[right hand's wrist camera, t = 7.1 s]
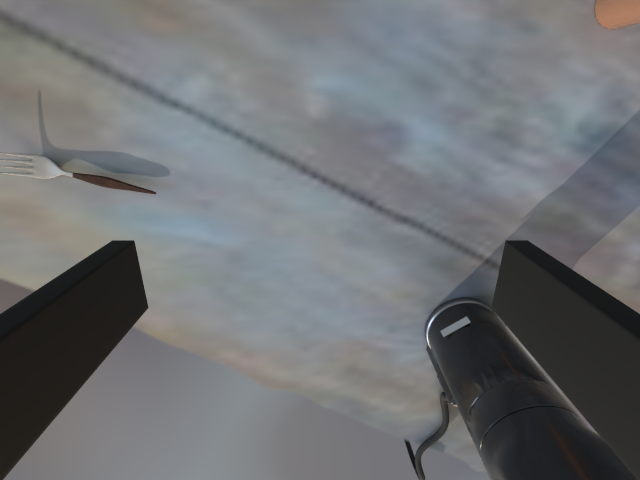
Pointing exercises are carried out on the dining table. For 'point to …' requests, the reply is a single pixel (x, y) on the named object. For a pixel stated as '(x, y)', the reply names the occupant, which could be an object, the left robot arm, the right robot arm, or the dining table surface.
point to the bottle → (617, 13)
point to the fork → (65, 173)
